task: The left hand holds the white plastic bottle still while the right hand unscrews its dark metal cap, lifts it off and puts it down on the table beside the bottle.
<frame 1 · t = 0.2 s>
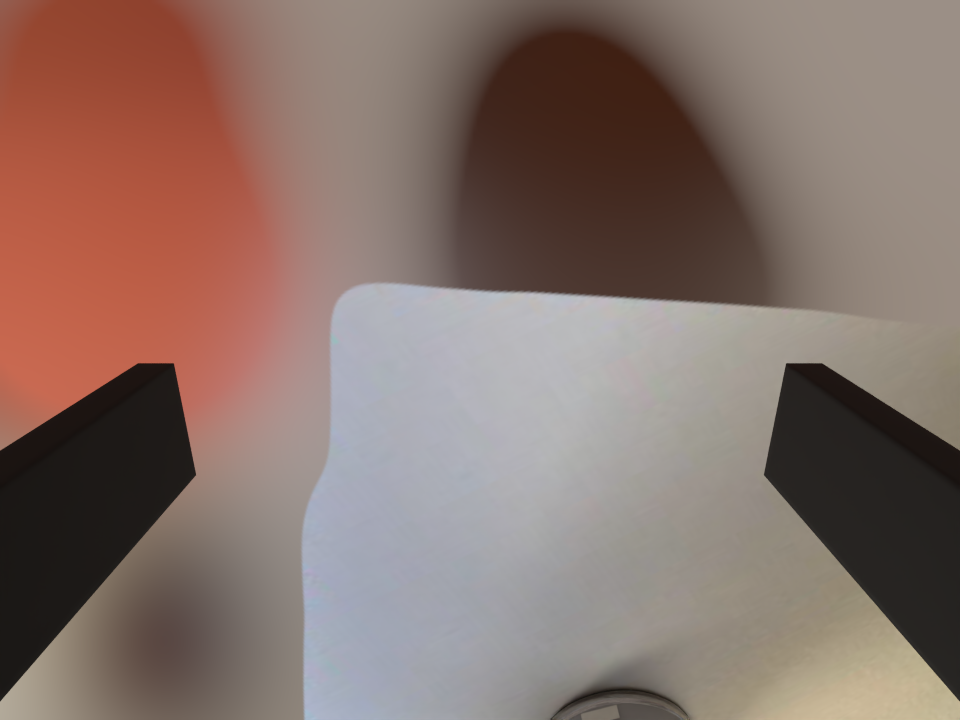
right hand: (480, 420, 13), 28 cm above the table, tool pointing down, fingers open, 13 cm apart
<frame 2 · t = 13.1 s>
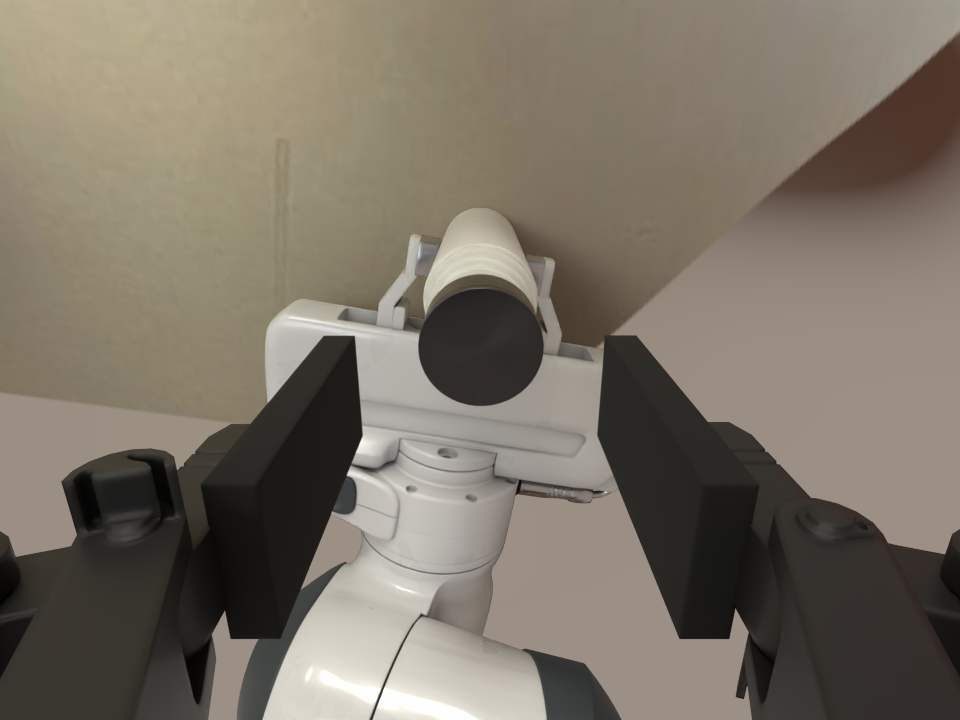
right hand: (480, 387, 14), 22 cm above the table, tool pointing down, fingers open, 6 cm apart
left hand: (482, 247, 29), fingers closed on bottle, 4 cm apart
bottle: (480, 244, 35), on the table, touching left hand
cap: (480, 346, 17), point 19 cm above the table, screwed on, not yet turned
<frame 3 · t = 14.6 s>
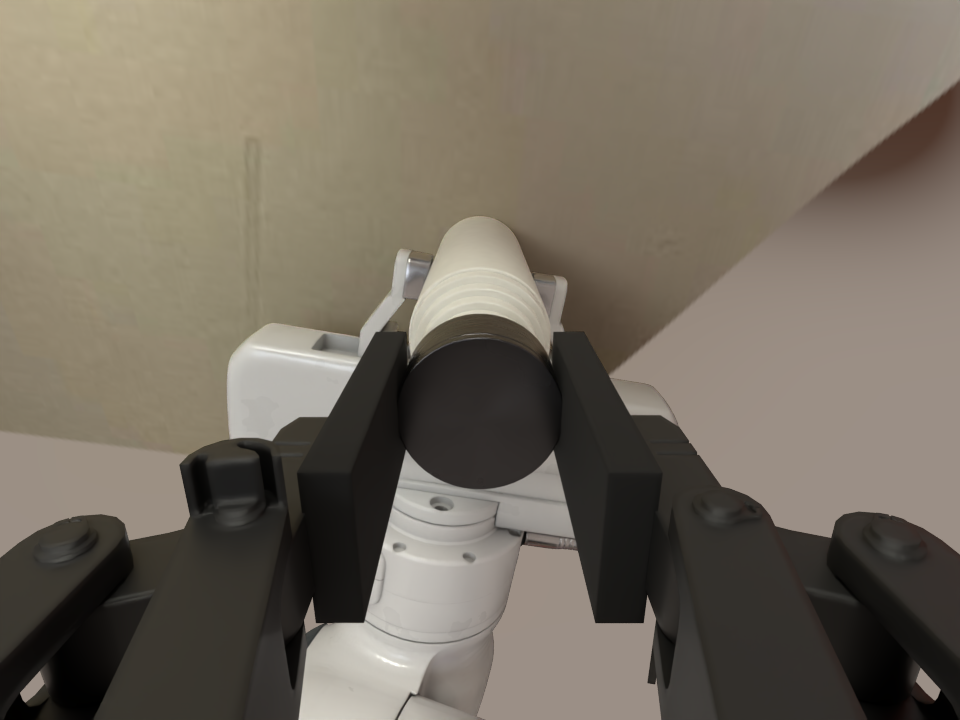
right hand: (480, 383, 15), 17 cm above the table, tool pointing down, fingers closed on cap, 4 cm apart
bottle: (479, 258, 31), on the table, touching left hand
cap: (479, 411, 13), point 19 cm above the table, screwed on, not yet turned, touching right hand
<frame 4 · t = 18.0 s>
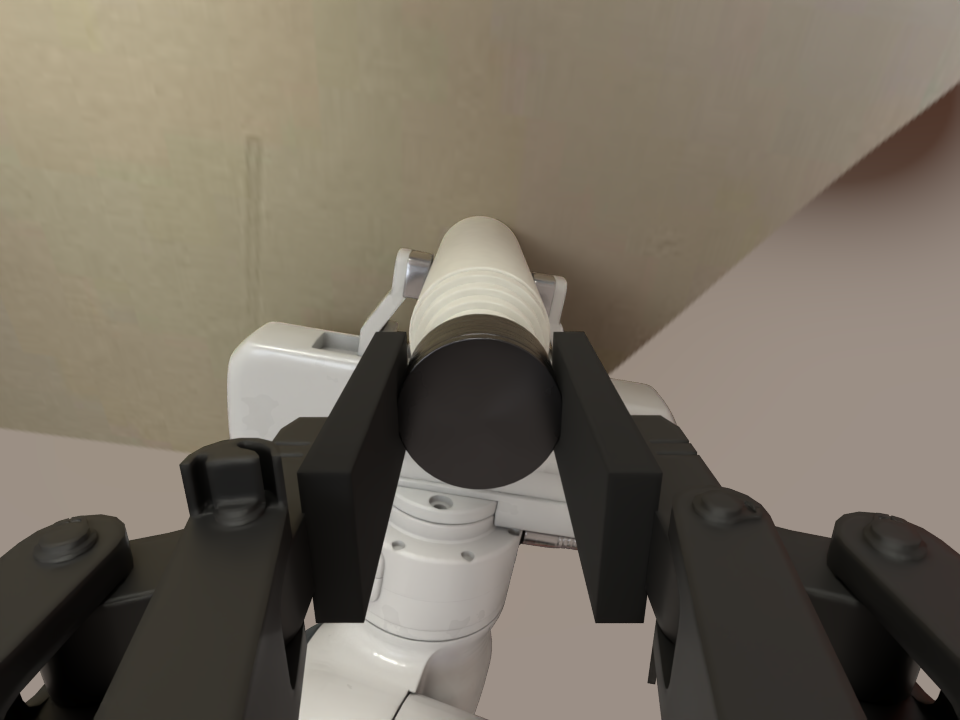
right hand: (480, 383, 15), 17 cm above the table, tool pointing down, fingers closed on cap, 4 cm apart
bottle: (479, 258, 31), on the table, touching left hand
cap: (479, 412, 13), point 19 cm above the table, turned 113° so far, risen 0.1 cm, still on its thread, touching right hand
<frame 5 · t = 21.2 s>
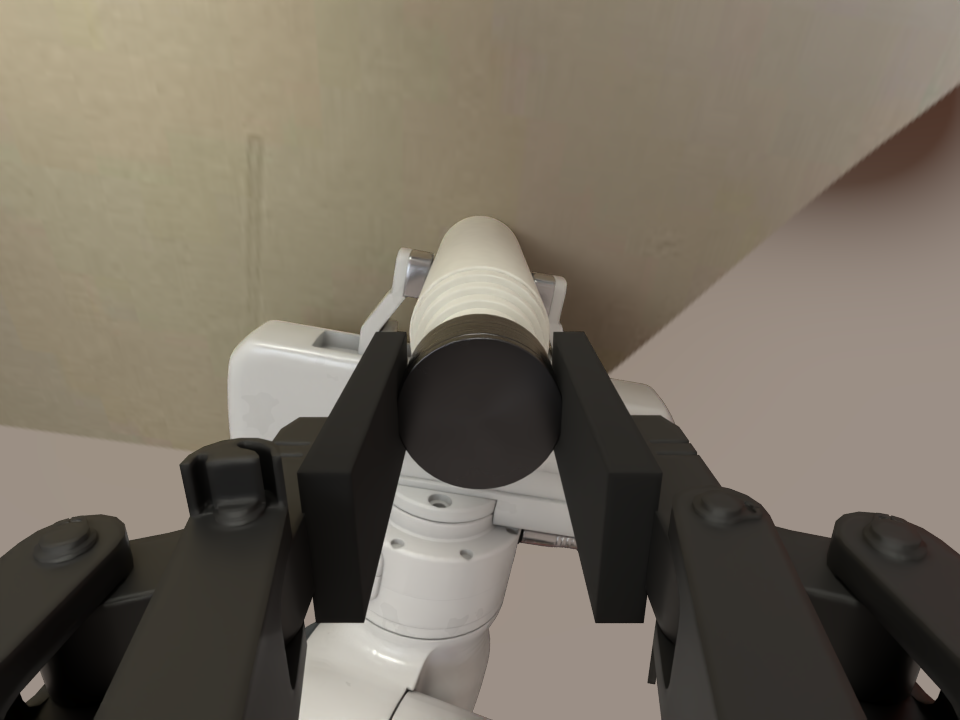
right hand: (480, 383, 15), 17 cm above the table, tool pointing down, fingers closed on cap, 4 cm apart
bottle: (479, 257, 31), on the table, touching left hand
cap: (479, 411, 13), point 19 cm above the table, turned 226° so far, risen 0.2 cm, still on its thread, touching right hand
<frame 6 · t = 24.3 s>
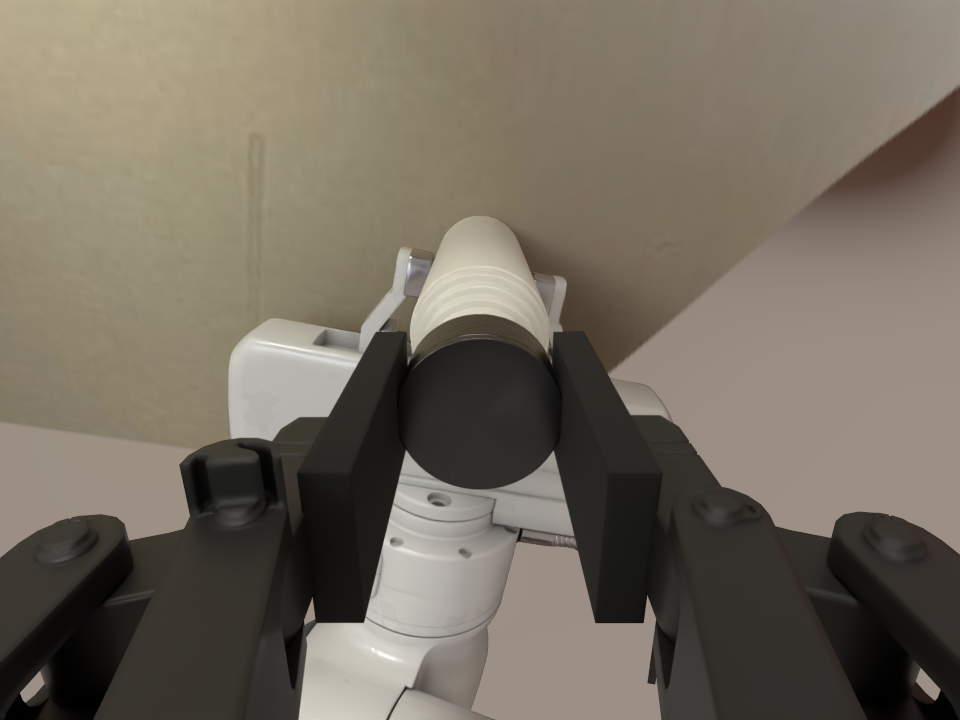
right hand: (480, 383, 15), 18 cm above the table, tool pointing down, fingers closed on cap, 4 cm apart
bottle: (479, 257, 31), on the table, touching left hand
cap: (479, 412, 13), point 19 cm above the table, turned 339° so far, risen 0.3 cm, still on its thread, touching right hand
when the right hand's fingers open (1 cm above the table, at t = 31.7 s): cap stays where it is, point 2 cm above the table.
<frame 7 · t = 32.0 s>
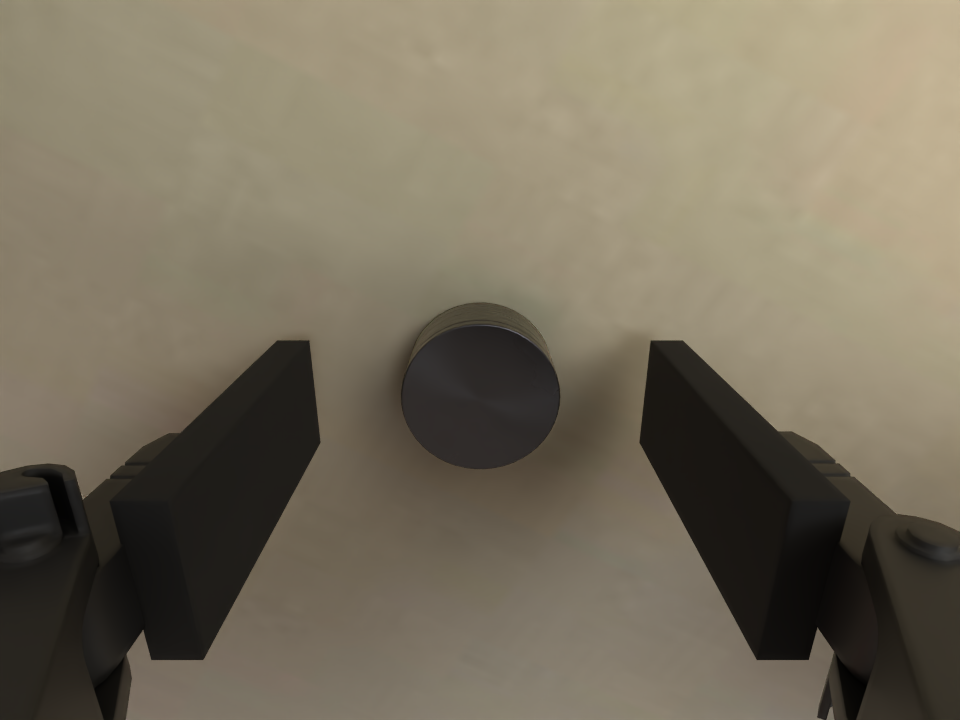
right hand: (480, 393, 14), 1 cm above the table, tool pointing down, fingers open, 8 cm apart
cap: (480, 395, 14), point 2 cm above the table, off its thread
when the left hand's fingers open (6 cm above the table, at t = 33.0 s): bottle stays where it is, on the table.
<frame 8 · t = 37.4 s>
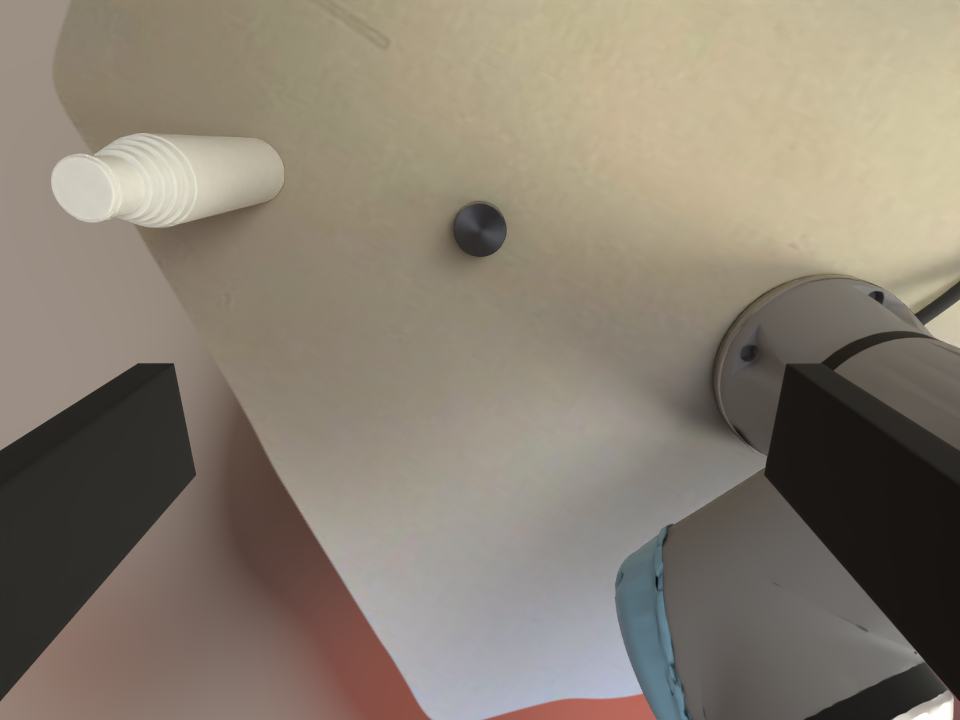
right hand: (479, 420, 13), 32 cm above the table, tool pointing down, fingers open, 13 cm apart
bottle: (253, 170, 41), on the table
cap: (480, 229, 41), point 2 cm above the table, off its thread
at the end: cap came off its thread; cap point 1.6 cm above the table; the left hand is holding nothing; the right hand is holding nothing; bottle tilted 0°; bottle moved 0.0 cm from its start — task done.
